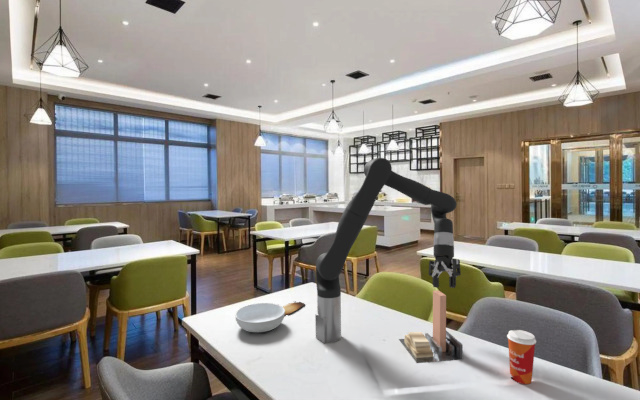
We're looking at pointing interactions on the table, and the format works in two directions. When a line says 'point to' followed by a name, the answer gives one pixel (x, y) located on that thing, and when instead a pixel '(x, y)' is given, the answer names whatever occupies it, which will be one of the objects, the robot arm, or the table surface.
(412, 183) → the robot arm
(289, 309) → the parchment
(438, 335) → the pink rectangular bar
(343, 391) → the table surface
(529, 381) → the paper cup
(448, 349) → the rack
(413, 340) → the offcut stack
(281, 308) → the serving bowl
